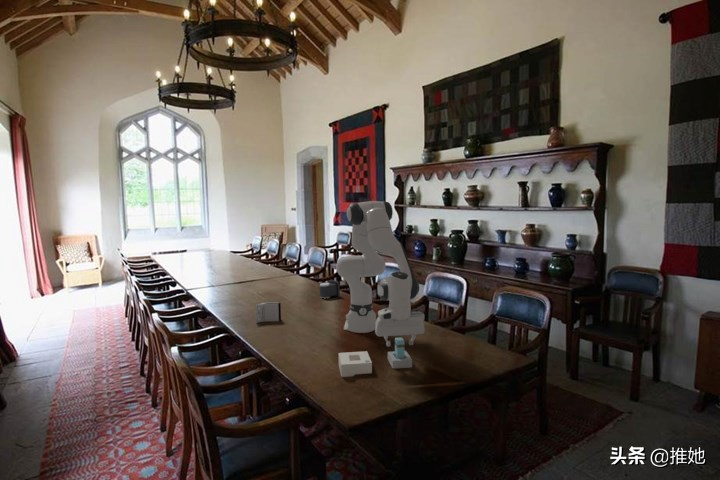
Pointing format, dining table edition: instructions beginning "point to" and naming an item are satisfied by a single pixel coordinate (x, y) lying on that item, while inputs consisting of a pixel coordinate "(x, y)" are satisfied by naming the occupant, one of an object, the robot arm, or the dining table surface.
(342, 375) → the port block
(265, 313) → the hinge
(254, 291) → the dining table surface
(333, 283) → the dark grey block
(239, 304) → the dining table surface
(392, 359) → the holster
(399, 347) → the plug
